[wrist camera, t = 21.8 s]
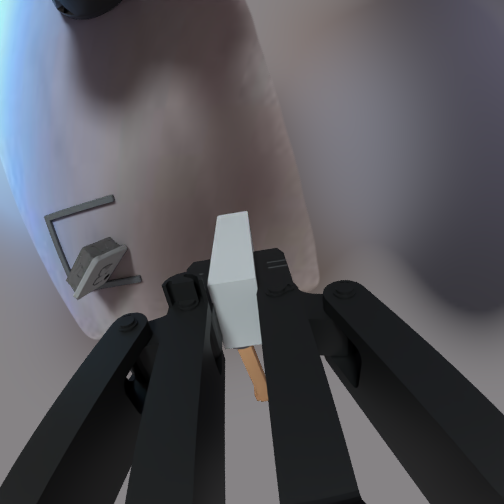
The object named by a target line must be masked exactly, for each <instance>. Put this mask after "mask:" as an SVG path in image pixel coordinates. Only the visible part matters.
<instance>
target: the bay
mask: <svg viewBox="0 0 504 504" xmlns="http://www.w3.org/2000/svg"><path fill="white" fill-rule="evenodd" d="M113 201H115V199H114V196H113V195H110V196H106V197H103V198H99V199H96V200H93V201H89V202H86V203H83V204H80V205H76V206H73V207H70V208H67V209H64V210H61V211H58V212H55V213H52V214H49V215H46V216H44V218H45V221H46V224H47V227H48V230H49V232H50V235H51V238H52V240H53V243H54V246H55V248H56V251H57V253H58V256H59V258H60V260H61V263H62V265H63V268H64V270H65V272H66V274H67V277H68V275H69V273H70V271H71V269H70V267H69V265H68V262H67V260H66V257H65V255H64V253H63V250H62V247H61V245H60V242H59V240H58V237H57V234H56V232H55V229H54V226H53V223H52V220H53V219H56V218H59V217H62V216H65V215H69V214H72V213H75V212H78V211H82V210H85V209H88V208H92V207H95V206H99V205H102V204H106V203H109V202H113ZM141 281H142V279H141V276H140V275H139V276H134V277H128V278H122V279H117V280H111V281H106V282H105V283H104V284H103V285H101V286H100V287H98V288H96V289H102V288H108V287H114V286H120V285H126V284H132V283H137V282H141ZM96 289H95V290H96ZM74 292H75V291H74Z"/></svg>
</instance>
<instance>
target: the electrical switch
mask: <svg viewBox="0 0 504 504" xmlns="http://www.w3.org/2000/svg"><path fill="white" fill-rule="evenodd" d="M85 250H86V251H85ZM126 250H127V247H126V246H125V245H121V246H119V245H118V244H117V243H116V242H114V241H113V240H112V239H111V238H110V237H108V238H106V239H103V240H101V241H98V242H95V243H93V244H90V245H88V246H85V247H83V248H82V250H81V251H80V253H79V255H78V257H77V259H76V261H75V263H74V265H73V267H72V269H71V271H70V273H69V275H68V277H67V279H66V281H67V282H68V283H69V284H70V285H71V287H72V289H73V290H74V291H75V293H74V295H73V296H74V297H75V298H76V299H77V300H78V299H80V298H82V297H83V296H85V295H87V294H88V293H90V292H92V291H93V290H95V289H96V288H98V287H100V286H101V285H103V284H104V283H105V282H106V281H107V280H108V279H109V277H110V275H111V274H112V272H113V271H114V269H115V267H116V266H117V264H118V263H119V261H120V260H121V258H122V256H123V255H124V253H125V252H126ZM80 256H81V257H80Z"/></svg>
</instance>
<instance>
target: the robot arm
mask: <svg viewBox="0 0 504 504" xmlns="http://www.w3.org/2000/svg"><path fill="white" fill-rule="evenodd" d="M52 1H53V3H54V5H55V7H56V8H57V10H58V11H59V12H61V13H62V14H64V15H66V16H68V17H70V18H73V19H89V18H93V17H96V16H99V15H101V14H104V13H106V12H107V11H109V10H111V9H112V8H114V7H115V6H116V5H118V4H119V3H120V2H121V1H122V0H52ZM162 288H163V291H164V294H165V297H166V300H167V302H168V305H169V309H168V313H167V315H166V316H163V317H161V318H158V319H155V320H152V321H149V322H148V320H147V318H146V316H145V315H143V314H141V313H129V314H126V315H123V316H122V317H120V318H118V319H117V320H116V321H115V322H114V323H113V324H112V325H111V326H110V328H109V329H108V330H107V331H106V333H105V334H104V335H103V337H102V338H101V339H100V341H99V342H98V343H97V345H96V346H95V347H94V348H93V350H92V351H91V352H90V354H89V355H88V356H87V358H86V359H85V361H84V362H83V363H82V364H81V366H80V367H79V369H78V370H77V372H76V373H75V374H74V375H73V377H72V378H71V380H70V381H69V382H68V384H67V385H66V387H65V388H64V390H63V391H62V392H61V394H60V395H59V396H58V398H57V399H56V401H55V402H54V404H53V405H52V407H51V408H50V410H49V411H48V412H47V414H46V416H45V417H44V418H43V420H42V421H41V423H40V424H39V426H38V427H37V429H36V430H35V432H34V433H33V435H32V436H31V438H30V440H29V441H28V443H27V444H26V446H25V447H24V449H23V450H22V452H21V454H20V455H19V457H18V459H17V460H16V462H15V463H14V465H13V467H12V468H11V470H10V472H9V473H8V475H7V477H6V479H5V480H4V482H3V484H2V486H1V487H0V504H114V502H115V500H116V498H117V495H118V493H119V491H120V489H121V487H122V485H123V482H124V480H125V478H126V476H127V474H128V472H129V469H130V467H131V472H130V477H129V483H128V489H127V495H126V502H125V504H225V431H224V430H225V425H224V424H225V357H224V354H223V350H222V340H223V344H224V347H225V349H230V348H238V347H245V346H252V345H259V344H262V349H263V358H264V367H265V376H266V385H267V394H268V402H269V411H270V420H271V428H272V437H273V446H274V456H275V464H276V473H277V482H278V491H279V500H280V504H366V503H365V502H364V501H363V500H362V498H361V496H360V493H359V490H358V486H357V482H356V479H355V475H354V471H353V467H352V464H351V460H350V456H349V453H348V449H347V446H346V442H345V438H344V435H343V431H342V428H341V424H340V421H339V418H338V414H337V411H336V407H335V404H334V400H333V397H332V394H331V390H330V387H329V384H328V381H327V377H326V374H325V371H324V367H323V364H322V361H321V358H320V355H324V356H325V359H326V361H327V362H328V363H329V365H330V366H331V368H332V369H333V370H334V372H335V373H336V375H337V376H338V377H339V379H340V380H341V382H342V383H343V384H344V386H345V387H346V389H347V390H348V391H349V393H350V394H351V395H352V397H353V398H354V400H355V401H356V402H357V404H358V405H359V407H360V408H361V409H362V410H363V412H364V413H365V415H366V416H367V418H368V419H369V420H370V422H371V423H372V424H373V426H374V427H375V429H376V430H377V431H378V433H379V434H380V436H381V437H382V438H383V440H384V441H385V442H386V444H387V445H388V447H389V448H390V449H391V450H392V452H393V453H394V455H395V456H396V457H397V459H398V460H399V462H400V463H401V464H402V466H403V467H404V468H405V470H406V471H407V473H408V474H409V475H410V477H411V478H412V479H413V481H414V482H415V484H416V485H417V486H418V488H419V489H420V490H421V492H422V493H423V495H424V496H425V497H426V499H427V500H428V501H429V503H430V504H504V415H503V414H502V413H501V412H500V411H499V410H498V409H497V408H496V407H495V406H494V405H493V404H492V403H491V402H490V401H489V400H488V399H487V398H486V397H485V396H484V395H483V394H482V393H481V392H480V391H479V390H478V389H477V388H476V387H475V386H474V385H473V384H472V383H471V382H469V381H468V380H467V379H466V378H465V377H464V376H463V375H462V374H461V373H460V372H459V371H458V370H457V369H456V368H455V367H454V366H453V365H452V364H451V363H449V362H448V361H447V360H446V359H445V358H444V357H443V356H442V355H441V354H440V353H439V352H438V351H436V350H435V349H434V348H433V347H432V346H431V345H430V344H429V343H428V342H427V341H425V340H424V339H423V338H422V337H421V336H420V335H419V334H418V333H416V332H415V331H414V330H413V329H412V328H411V327H410V326H409V325H408V324H406V323H405V322H404V321H403V320H402V319H401V318H399V317H398V316H397V315H396V314H395V313H394V312H393V311H392V310H390V309H389V308H388V307H387V306H386V305H385V304H384V303H382V302H381V301H380V300H379V299H378V298H377V297H375V296H374V295H373V294H372V293H371V292H370V291H368V290H367V289H366V288H365V287H364V286H362V285H361V284H359V283H357V282H353V281H350V280H341V281H336V282H333V283H331V284H329V285H327V286H326V287H325V289H324V291H323V294H311V293H306V292H302V291H300V290H299V289H298V287H297V286H296V284H295V283H293V280H292V277H291V274H290V271H289V268H288V265H287V262H286V259H285V256H284V253H283V252H282V251H280V250H279V249H277V248H273V249H267V250H261V251H255V252H254V248H253V242H252V236H251V230H250V224H249V218H248V212H247V211H243V212H237V213H231V214H225V215H220V216H217V223H216V229H215V236H214V242H213V249H212V256H211V260H205V261H198V262H194V263H193V264H192V265H191V266H190V267H189V268H188V269H187V272H184V273H180V274H176V275H174V276H172V277H170V278H169V279H167V280H166V281H165V282H164V283H163V285H162ZM129 371H131V372H132V375H131V377H130V378H129V379H127V378H126V376H127V375H128V373H129ZM131 465H132V466H131Z"/></svg>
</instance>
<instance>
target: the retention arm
mask: <svg viewBox="0 0 504 504" xmlns="http://www.w3.org/2000/svg"><path fill="white" fill-rule="evenodd" d="M233 349H238V351H239V353H240V356H241V358H242V360H243V362H244V365H245V367H246V369H247V371H248V374H249V376H250V378H251V380H252V382H253V384H254V391H255V397H256V399H257V401H260V400H261V402H264V401H268V394H267V385H266V376H265V374H264V371H263V369H262V366H261V364H260V361H259V359H258V356H257V354H256V351H255V349H254V346H253V345H252V346H245V347H238V348H233Z"/></svg>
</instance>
